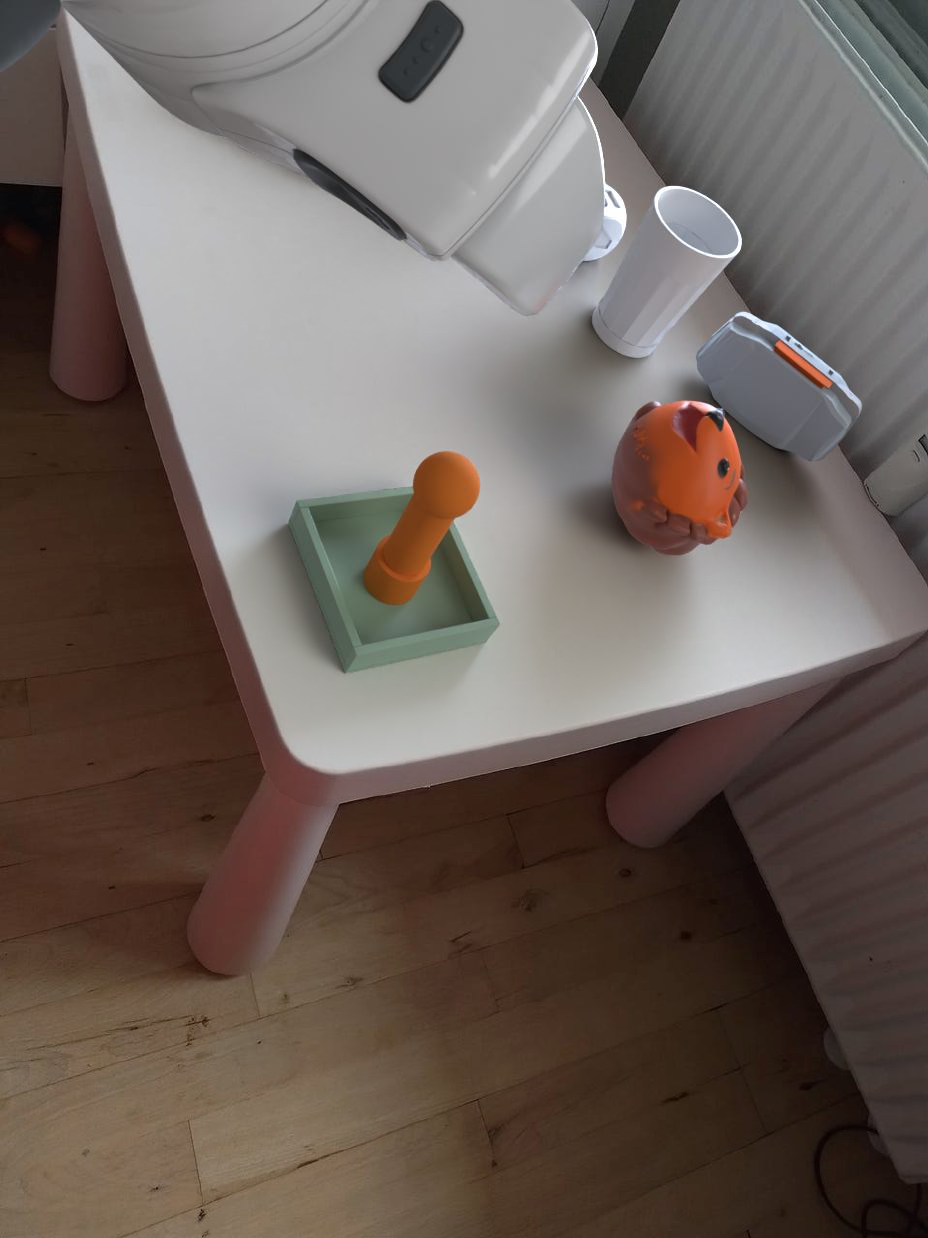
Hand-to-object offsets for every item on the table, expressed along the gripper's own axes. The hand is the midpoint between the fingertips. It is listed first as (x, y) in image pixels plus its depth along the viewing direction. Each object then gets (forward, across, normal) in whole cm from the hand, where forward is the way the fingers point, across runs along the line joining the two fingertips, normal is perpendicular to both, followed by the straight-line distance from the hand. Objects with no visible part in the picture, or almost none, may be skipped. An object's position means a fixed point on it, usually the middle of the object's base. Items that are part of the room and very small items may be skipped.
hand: (365, 150), depth 37 cm
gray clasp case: (+53, +21, +11) cm, 58 cm away
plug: (+25, +8, -16) cm, 30 cm away
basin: (+25, +8, -16) cm, 31 cm away
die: (+56, -2, +14) cm, 58 cm away
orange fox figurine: (+40, +19, -2) cm, 44 cm away
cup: (+52, +7, +10) cm, 53 cm away
